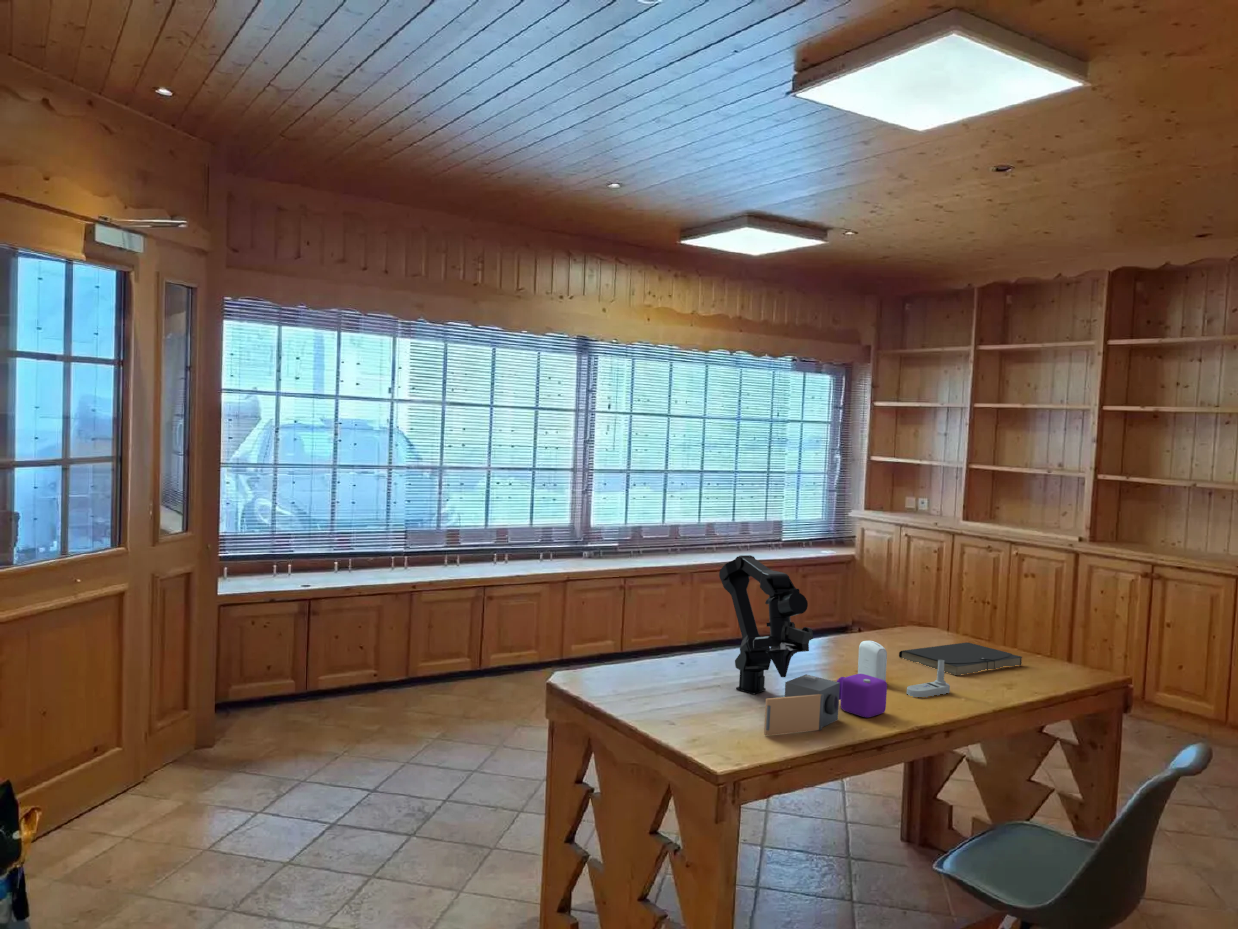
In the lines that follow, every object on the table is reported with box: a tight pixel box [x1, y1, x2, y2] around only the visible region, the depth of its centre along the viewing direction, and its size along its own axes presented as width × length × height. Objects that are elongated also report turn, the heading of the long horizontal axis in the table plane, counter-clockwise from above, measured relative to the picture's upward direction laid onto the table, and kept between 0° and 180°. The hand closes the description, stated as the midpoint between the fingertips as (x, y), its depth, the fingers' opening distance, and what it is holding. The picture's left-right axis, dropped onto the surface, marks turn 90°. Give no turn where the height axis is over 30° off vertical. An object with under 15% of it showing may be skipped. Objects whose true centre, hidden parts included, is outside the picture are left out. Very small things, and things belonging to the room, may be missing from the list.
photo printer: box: [857, 640, 888, 682], centre depth 267 cm, size 10×4×12 cm, turn 20°
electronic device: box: [906, 660, 951, 698], centre depth 257 cm, size 5×10×15 cm
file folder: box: [898, 642, 1023, 676], centre depth 296 cm, size 33×4×24 cm
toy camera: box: [836, 673, 888, 719], centre depth 238 cm, size 11×14×10 cm
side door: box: [763, 694, 824, 736], centre depth 218 cm, size 17×2×9 cm, turn 111°
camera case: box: [784, 674, 840, 728], centre depth 228 cm, size 11×11×11 cm
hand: (783, 677), depth 233 cm, fingers closed
